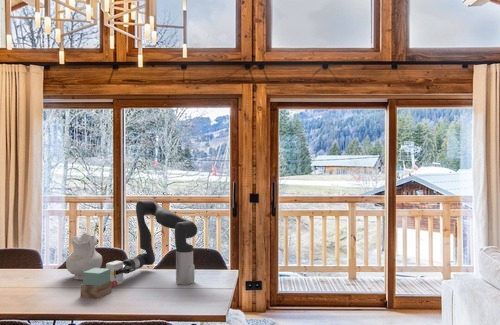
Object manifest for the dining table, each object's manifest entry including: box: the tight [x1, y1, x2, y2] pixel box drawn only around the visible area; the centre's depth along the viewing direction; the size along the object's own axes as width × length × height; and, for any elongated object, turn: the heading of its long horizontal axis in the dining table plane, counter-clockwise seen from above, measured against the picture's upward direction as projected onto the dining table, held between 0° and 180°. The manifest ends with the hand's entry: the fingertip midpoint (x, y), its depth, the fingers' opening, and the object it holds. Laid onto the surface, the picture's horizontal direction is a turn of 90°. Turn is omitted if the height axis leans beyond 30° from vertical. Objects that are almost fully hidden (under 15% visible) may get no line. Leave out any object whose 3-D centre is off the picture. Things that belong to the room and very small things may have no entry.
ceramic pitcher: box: [65, 232, 103, 281], centre depth 224 cm, size 22×20×25 cm
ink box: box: [105, 260, 124, 288], centre depth 210 cm, size 9×5×12 cm, turn 157°
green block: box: [82, 267, 110, 286], centre depth 193 cm, size 9×9×6 cm
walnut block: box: [80, 281, 112, 300], centre depth 193 cm, size 10×10×6 cm
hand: (111, 272), depth 208 cm, fingers closed on ink box, 5 cm apart
